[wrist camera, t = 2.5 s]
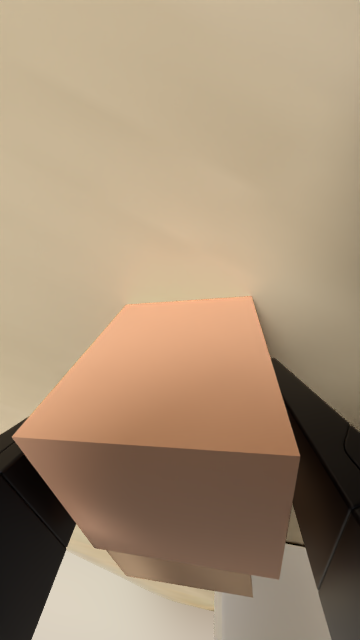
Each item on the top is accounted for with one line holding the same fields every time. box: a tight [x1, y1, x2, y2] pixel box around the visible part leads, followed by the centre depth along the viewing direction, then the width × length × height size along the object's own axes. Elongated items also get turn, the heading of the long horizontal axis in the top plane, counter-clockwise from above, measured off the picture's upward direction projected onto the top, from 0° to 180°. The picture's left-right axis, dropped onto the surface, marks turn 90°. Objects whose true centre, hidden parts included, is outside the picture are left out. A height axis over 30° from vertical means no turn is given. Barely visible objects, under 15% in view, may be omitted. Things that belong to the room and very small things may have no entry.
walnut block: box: [106, 550, 253, 598], centre depth 14 cm, size 8×8×4 cm
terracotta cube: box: [12, 296, 300, 580], centre depth 7 cm, size 5×5×6 cm
